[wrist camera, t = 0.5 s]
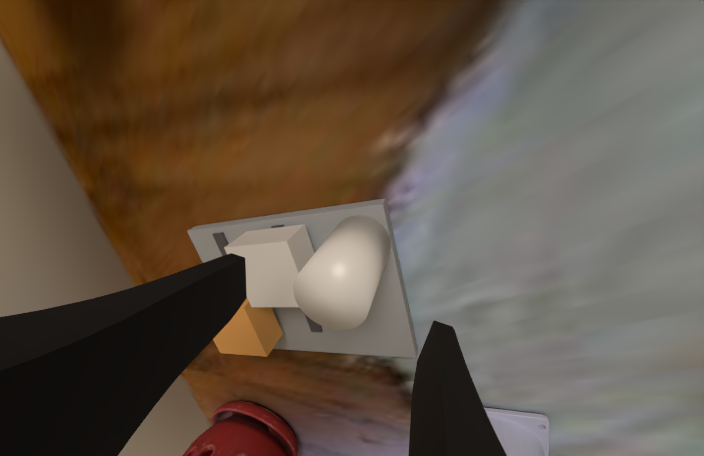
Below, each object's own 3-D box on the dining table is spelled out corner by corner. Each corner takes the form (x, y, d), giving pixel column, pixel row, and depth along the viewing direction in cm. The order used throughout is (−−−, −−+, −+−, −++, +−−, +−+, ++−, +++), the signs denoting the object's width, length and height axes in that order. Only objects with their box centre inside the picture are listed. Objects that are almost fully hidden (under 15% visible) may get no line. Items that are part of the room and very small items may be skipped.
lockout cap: (396, 265, 19) (377, 331, 14) (342, 268, 21) (306, 329, 15) (384, 211, 18) (358, 262, 12) (327, 218, 19) (282, 266, 14)
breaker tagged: (283, 333, 25) (267, 356, 23) (238, 331, 27) (220, 353, 25) (262, 287, 23) (243, 307, 21) (216, 288, 25) (195, 307, 23)
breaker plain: (325, 284, 21) (311, 307, 19) (270, 286, 23) (251, 307, 21) (304, 224, 19) (286, 241, 17) (246, 231, 21) (223, 247, 19)
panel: (417, 348, 23) (416, 360, 22) (251, 339, 29) (244, 348, 28) (385, 198, 18) (382, 205, 17) (196, 226, 25) (185, 232, 24)
